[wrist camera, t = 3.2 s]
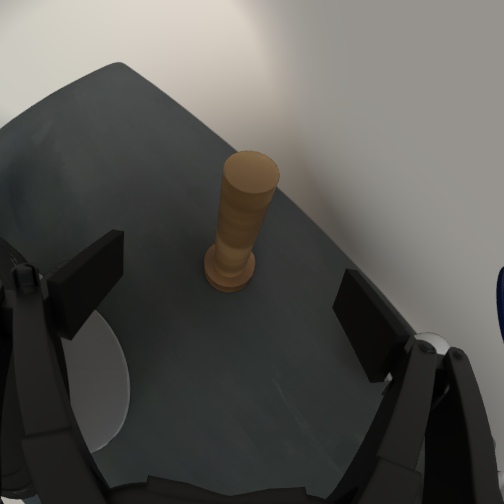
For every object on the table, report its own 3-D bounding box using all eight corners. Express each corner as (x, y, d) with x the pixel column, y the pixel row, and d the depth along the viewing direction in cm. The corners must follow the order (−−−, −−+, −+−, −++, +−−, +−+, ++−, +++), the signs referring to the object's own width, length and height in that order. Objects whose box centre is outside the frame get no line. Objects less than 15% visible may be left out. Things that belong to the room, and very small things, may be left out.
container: (159, 340, 25) (108, 310, 12) (104, 483, 17) (43, 545, 3) (33, 265, 25) (-40, 200, 12) (-12, 391, 17) (-94, 381, 4)
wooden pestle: (220, 238, 31) (235, 128, 16) (260, 262, 30) (309, 164, 16) (194, 276, 28) (186, 179, 14) (237, 301, 28) (272, 226, 14)
